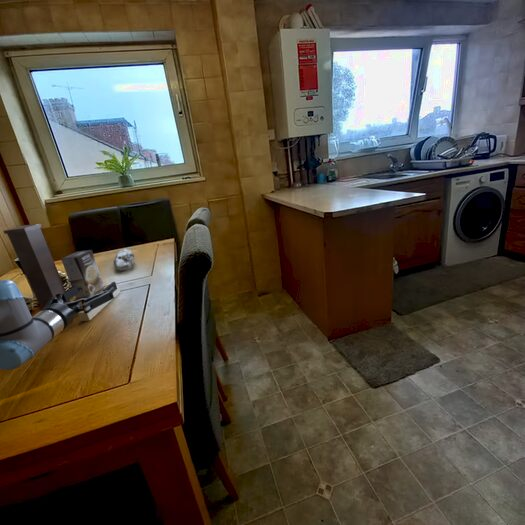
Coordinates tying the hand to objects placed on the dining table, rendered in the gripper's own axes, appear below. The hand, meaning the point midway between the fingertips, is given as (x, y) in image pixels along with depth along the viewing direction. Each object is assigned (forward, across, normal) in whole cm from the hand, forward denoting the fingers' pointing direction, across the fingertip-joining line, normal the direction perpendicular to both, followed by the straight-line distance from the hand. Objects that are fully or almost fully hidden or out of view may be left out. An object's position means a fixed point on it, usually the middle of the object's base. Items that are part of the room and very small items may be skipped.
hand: (96, 287), depth 95 cm
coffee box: (+13, -12, -7) cm, 19 cm away
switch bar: (0, 0, -7) cm, 7 cm away
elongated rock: (+48, -15, -7) cm, 51 cm away
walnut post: (+1, -17, -7) cm, 18 cm away
